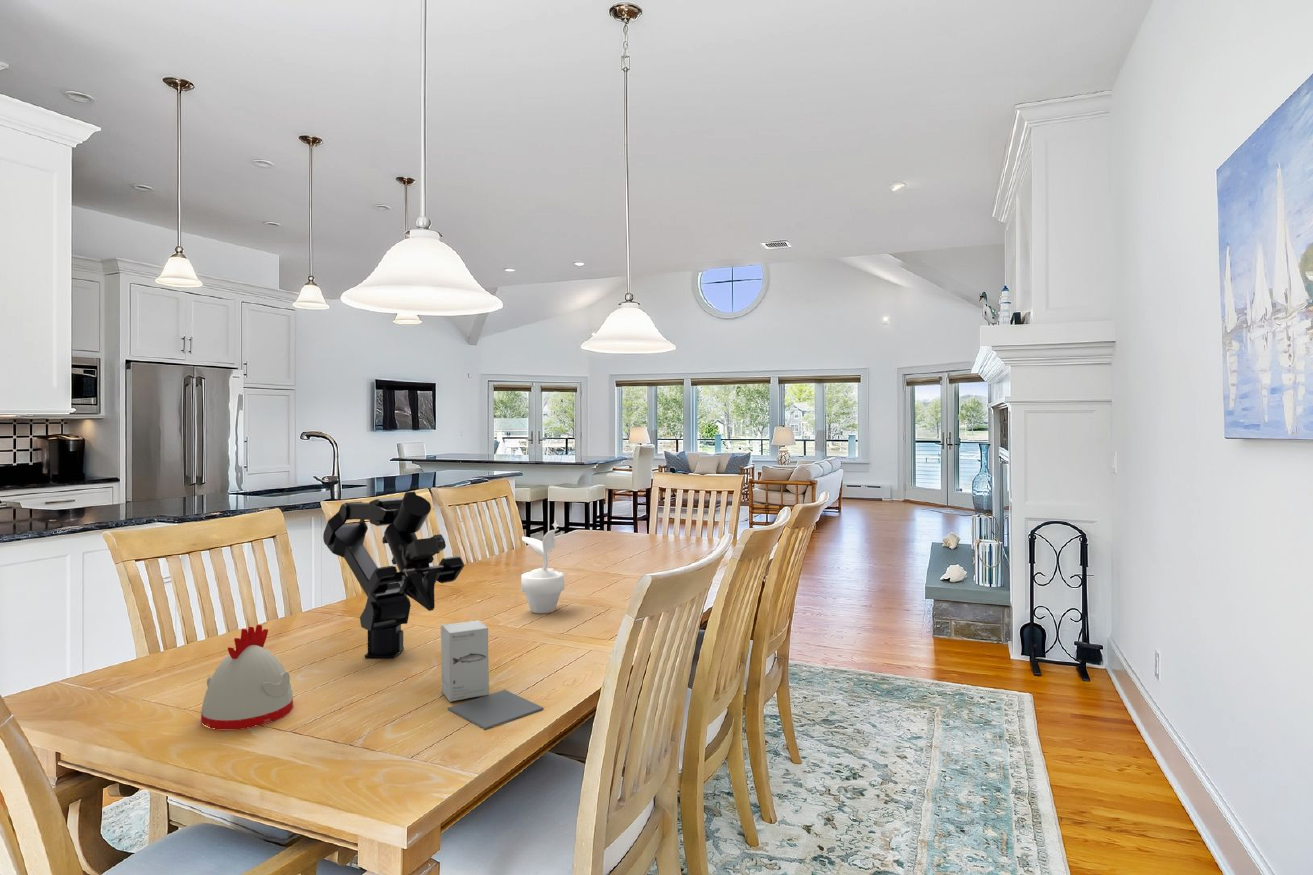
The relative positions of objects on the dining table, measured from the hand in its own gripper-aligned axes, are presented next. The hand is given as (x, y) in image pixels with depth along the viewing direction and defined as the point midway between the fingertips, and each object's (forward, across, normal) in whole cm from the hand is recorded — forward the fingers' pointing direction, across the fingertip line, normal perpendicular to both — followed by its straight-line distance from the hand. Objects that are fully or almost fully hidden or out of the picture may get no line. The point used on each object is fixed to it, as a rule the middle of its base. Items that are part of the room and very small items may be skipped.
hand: (432, 609), depth 143 cm
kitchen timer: (+5, -31, +15) cm, 35 cm away
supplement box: (+18, 0, +1) cm, 18 cm away
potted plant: (-8, +46, +28) cm, 54 cm away
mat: (+26, 0, -6) cm, 26 cm away
